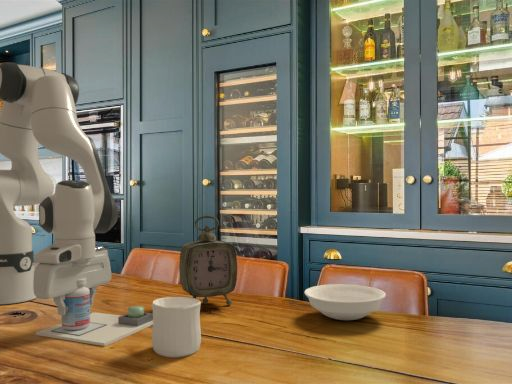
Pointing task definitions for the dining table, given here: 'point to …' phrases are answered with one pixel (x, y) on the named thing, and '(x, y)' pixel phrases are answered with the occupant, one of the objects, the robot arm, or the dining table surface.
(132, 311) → the button
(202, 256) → the tabletop clock
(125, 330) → the paper board
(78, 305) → the pill bottle
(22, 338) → the dining table surface
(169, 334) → the cup
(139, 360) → the dining table surface
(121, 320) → the button housing
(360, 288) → the bowl
